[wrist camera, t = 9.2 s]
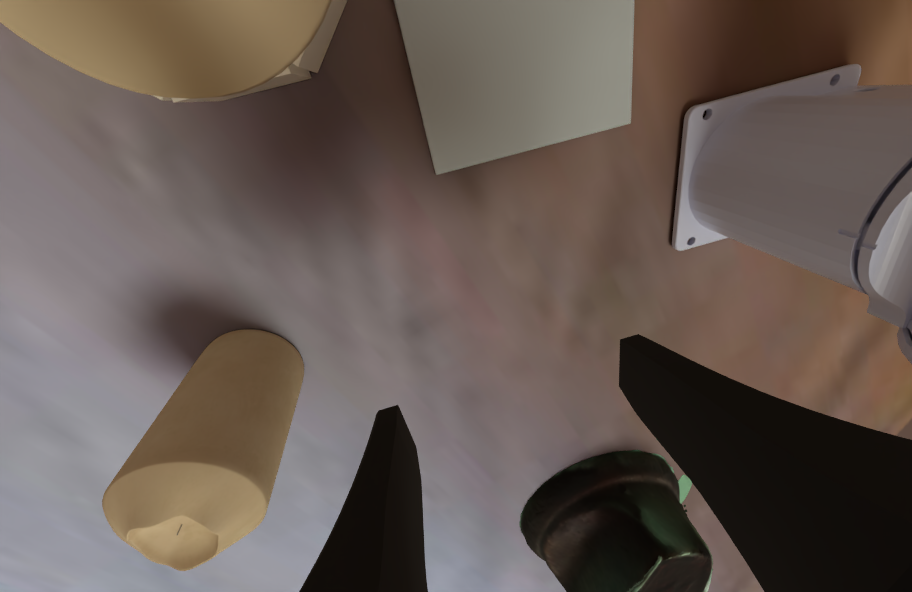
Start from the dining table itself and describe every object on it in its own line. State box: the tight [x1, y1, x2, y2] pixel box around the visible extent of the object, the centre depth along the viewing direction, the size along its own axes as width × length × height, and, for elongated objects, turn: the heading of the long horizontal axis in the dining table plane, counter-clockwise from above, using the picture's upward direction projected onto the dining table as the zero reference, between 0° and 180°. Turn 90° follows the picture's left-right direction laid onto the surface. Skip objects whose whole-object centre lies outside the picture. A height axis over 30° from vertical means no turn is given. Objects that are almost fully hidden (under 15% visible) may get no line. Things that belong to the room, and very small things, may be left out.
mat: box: [394, 0, 634, 175], centre depth 15 cm, size 10×10×1 cm
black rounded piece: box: [520, 450, 713, 592], centre depth 32 cm, size 20×20×9 cm
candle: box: [102, 329, 304, 571], centre depth 17 cm, size 6×6×10 cm
